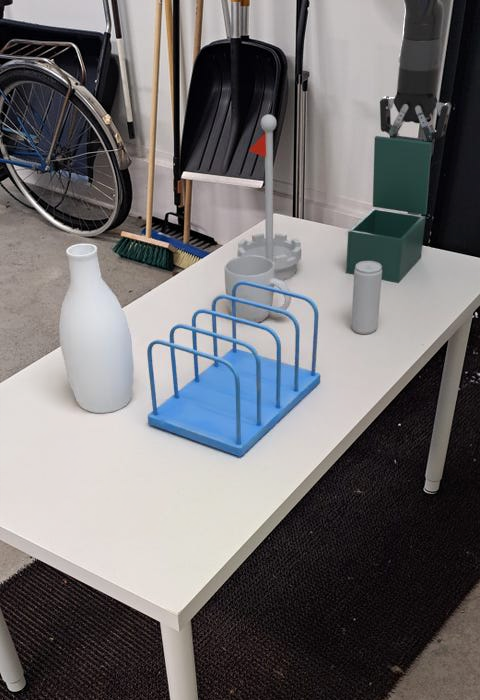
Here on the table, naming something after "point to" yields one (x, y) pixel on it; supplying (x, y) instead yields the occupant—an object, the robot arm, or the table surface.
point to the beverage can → (366, 297)
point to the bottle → (95, 337)
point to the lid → (401, 173)
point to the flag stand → (271, 217)
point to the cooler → (386, 242)
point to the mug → (255, 272)
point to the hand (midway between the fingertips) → (410, 156)
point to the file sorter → (233, 384)
